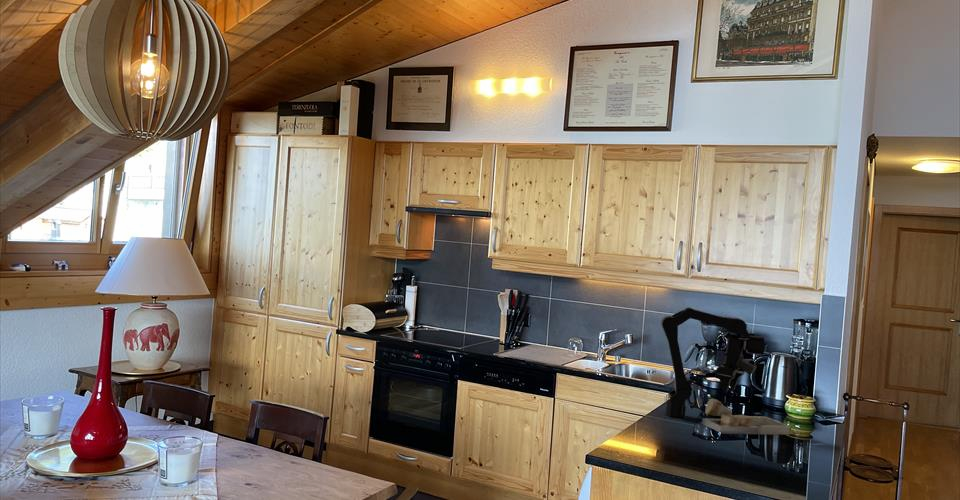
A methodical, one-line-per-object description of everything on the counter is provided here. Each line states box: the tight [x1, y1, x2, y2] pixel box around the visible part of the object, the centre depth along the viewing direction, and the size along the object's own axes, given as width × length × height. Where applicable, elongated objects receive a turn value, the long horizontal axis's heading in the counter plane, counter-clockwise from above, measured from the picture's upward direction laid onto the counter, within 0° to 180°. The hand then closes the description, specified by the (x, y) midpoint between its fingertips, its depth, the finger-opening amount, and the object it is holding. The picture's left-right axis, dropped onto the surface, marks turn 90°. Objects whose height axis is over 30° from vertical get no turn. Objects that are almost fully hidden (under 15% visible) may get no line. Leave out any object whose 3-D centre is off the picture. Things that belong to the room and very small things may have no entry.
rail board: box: [700, 415, 792, 436], centre depth 282 cm, size 30×14×4 cm, turn 109°
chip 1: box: [720, 414, 739, 426], centre depth 279 cm, size 4×4×4 cm
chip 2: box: [733, 414, 752, 426], centre depth 281 cm, size 4×4×4 cm
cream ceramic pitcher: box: [704, 398, 733, 417], centre depth 301 cm, size 8×10×10 cm
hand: (728, 391), depth 287 cm, fingers open, 9 cm apart
